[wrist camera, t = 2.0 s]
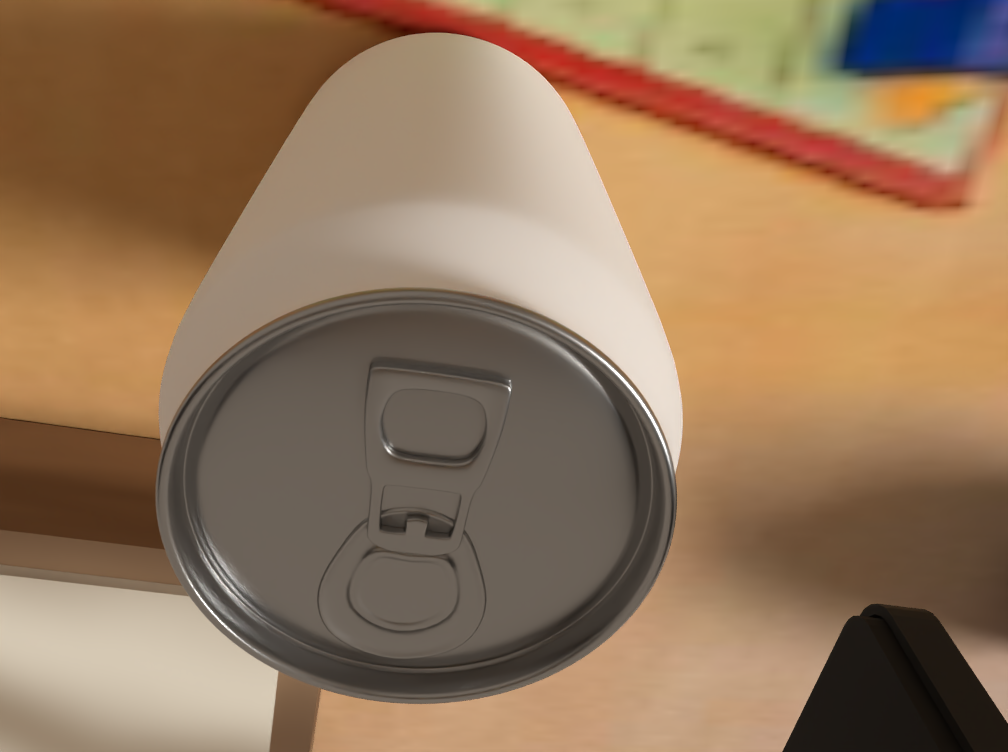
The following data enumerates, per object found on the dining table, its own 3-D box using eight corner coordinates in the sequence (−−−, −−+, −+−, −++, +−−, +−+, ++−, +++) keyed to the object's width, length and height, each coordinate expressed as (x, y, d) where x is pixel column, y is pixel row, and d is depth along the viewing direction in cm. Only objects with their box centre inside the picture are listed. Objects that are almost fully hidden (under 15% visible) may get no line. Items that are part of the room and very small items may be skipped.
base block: (-138, 399, 22) (-257, 508, 19) (353, 466, 24) (333, 579, 20) (-83, 727, 28) (-166, 860, 24) (310, 764, 30) (288, 894, 26)
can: (283, 291, 21) (118, 704, 11) (304, -1, 18) (100, 194, 8) (552, 330, 22) (634, 750, 12) (616, 57, 19) (803, 303, 9)
